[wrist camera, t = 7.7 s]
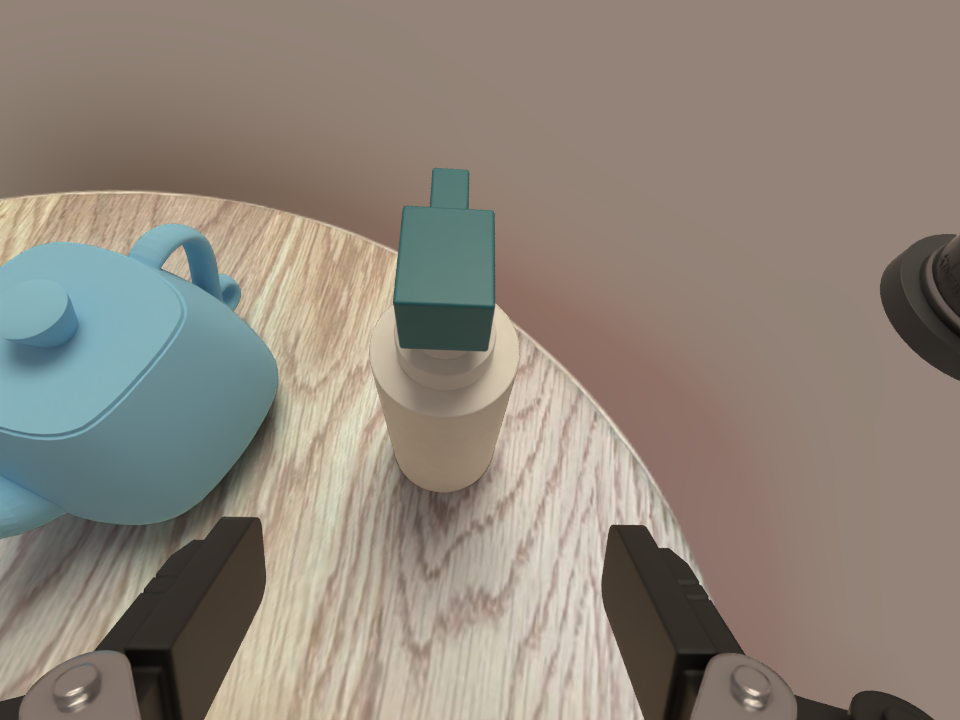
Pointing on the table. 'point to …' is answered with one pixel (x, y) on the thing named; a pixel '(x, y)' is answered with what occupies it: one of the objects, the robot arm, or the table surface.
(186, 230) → the teapot
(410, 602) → the table surface
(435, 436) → the spray bottle
